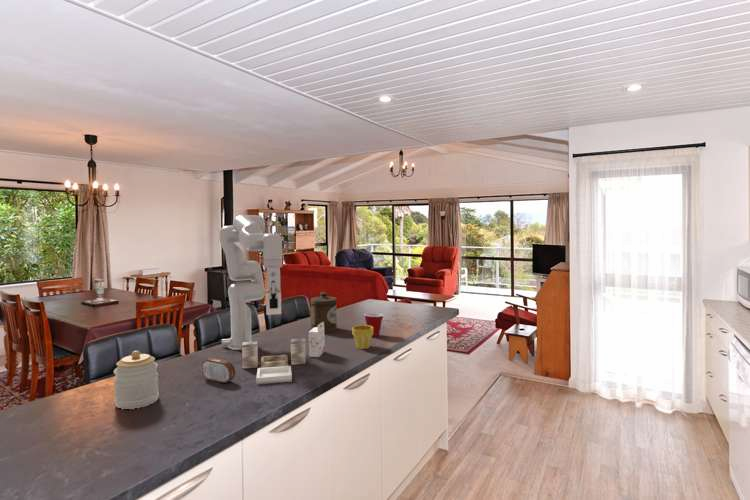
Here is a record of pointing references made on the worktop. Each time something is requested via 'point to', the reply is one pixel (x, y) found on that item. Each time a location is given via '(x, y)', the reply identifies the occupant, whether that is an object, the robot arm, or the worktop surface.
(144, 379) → the jar
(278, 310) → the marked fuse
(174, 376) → the worktop surface
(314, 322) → the wooden container
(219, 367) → the tin
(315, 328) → the ink cartridge box
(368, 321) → the plastic cup
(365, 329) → the plant pot
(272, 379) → the tray
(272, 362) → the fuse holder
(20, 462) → the worktop surface
